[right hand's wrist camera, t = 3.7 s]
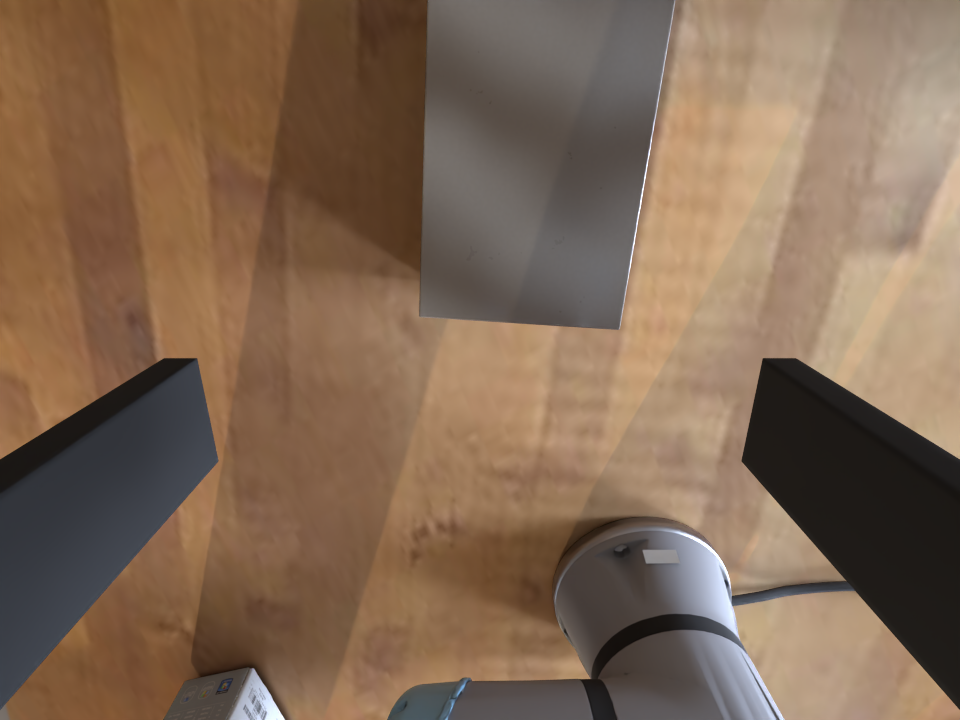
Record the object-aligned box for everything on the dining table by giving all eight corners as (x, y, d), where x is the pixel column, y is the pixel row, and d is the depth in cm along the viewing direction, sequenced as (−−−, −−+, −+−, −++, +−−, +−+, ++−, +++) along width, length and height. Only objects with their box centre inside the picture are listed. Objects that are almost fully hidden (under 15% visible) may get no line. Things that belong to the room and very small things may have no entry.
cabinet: (446, -87, 30) (431, -191, 21) (639, -71, 30) (704, -167, 21) (433, 282, 37) (418, 317, 28) (587, 292, 37) (620, 330, 29)
